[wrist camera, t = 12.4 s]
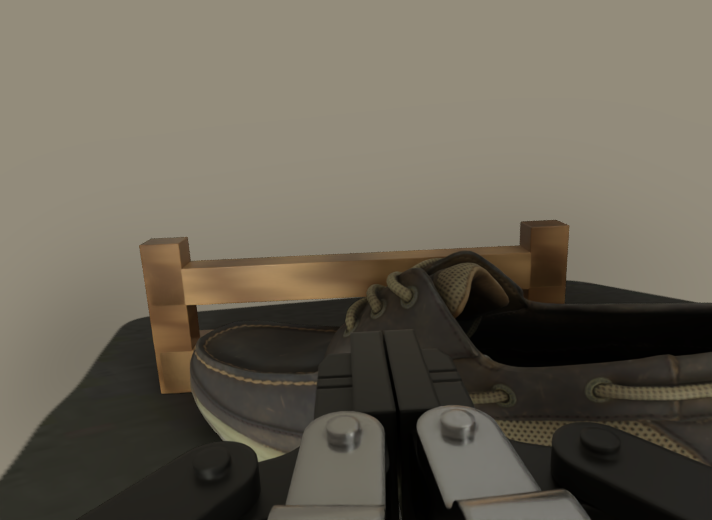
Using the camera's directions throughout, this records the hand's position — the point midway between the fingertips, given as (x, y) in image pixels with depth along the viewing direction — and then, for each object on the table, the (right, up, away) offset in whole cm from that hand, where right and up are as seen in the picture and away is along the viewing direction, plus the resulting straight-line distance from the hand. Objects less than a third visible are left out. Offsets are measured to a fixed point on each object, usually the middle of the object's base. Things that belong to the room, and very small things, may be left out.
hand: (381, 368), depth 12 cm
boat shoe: (+4, -8, +14) cm, 17 cm away
